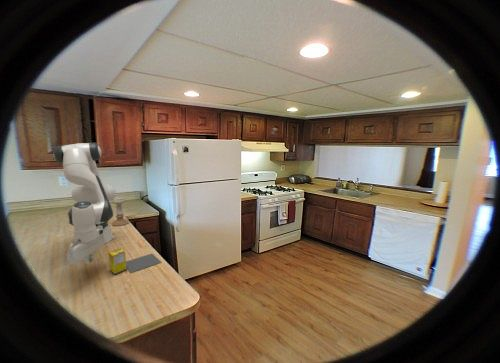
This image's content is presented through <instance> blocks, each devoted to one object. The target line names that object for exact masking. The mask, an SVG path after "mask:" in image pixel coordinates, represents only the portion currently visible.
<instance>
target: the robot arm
mask: <svg viewBox="0 0 500 363" xmlns="http://www.w3.org/2000/svg"><path fill="white" fill-rule="evenodd" d="M52 155H53V158H54V159H55V161H56V162H57V163H58V164H59V165H60V164H61V165H62V168H63V169H62V170H63V174H64V177H65V179H66V180H67V181H68V182H69V183H71V184H74V185H78V186H77V187H75V188H73V189H72V190H71V191H72V192H71V197H72V199H73V200H74V201H75V203H73V205H72V208H71V209H69V210H68V212H67V215H68V219H69V222H68V224H70V225H71V226H73V227H74V228H73V237H74V242H71V244H70V245H69V247H68V249H67V263H68V264H70V265H73V264H74V265H77V264H79V262H81V261H84V264H85V265H90V264H91V263H92V262H93V261H94V259H93V258H94V255H95V252H96V251H98V250H99V249H100V248H102V247H104V245H105V244H107V243H109V242H111V241H112V240H114V239H115V238H116V236H115V235H114V234H113V232H112V228H111V226H109V221H110V220H112V218H114V208H113V207H112V205H111V201H113V200H114V199H115V198H116V196H117V191H116V189H115V187H114V186H112V185H109V184H108V183H107V182H106V181H104V179H103V178H102V176H101V175H100V172H99V169H98V166H97V163H96V161H98V160H100V159H101V157H102V149H101V147H100V145H99V144H98V143H95V142H87V143H86V142H85V143H83V142H79V143H78V142H77V143H73V144H65V145H58V146H55V147H54V148H53V154H52Z"/></svg>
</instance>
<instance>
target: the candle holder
mask: <svg viewBox="0 0 500 363" xmlns="http://www.w3.org/2000/svg"><path fill="white" fill-rule="evenodd" d="M126 201H127V200H126V199H115V200H114V199H113V200H111V201H110V204H115V205H116V207H115V209H116V210H115V211H116V212H115V215H116V216H115V218H116V220H114V221H113V222H112V223H111V226H113V227H122V226H126V225H128V224H129V220H128V219H124V216H125V215H124V211H123V206H122V204H123V203H125V202H126Z"/></svg>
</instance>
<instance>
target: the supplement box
mask: <svg viewBox="0 0 500 363" xmlns="http://www.w3.org/2000/svg"><path fill="white" fill-rule="evenodd" d="M125 252H126V251H125V250H124V249H122V248H117V249H114V250H111V251H108V261H109V268H110V270H109V271H110V272H111V274H113V275H114V276H115V275H119V274H121V273H123V272H125V271H127V268H126V253H125Z"/></svg>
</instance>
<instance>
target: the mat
mask: <svg viewBox="0 0 500 363" xmlns="http://www.w3.org/2000/svg"><path fill="white" fill-rule="evenodd" d="M161 263H162V261H161V260H160V259H158V257H157V256H156V255H155V254H153V253H149V254H146V255H142V256H139V257H136V258H134V259H131V260H129V259H128V260H127V261H126V270H127V271H128V272H129V273H130V274H132V273H136V272H139V271H142V270H145V269H147V268H150V267H152V266H156V265H158V264H161Z"/></svg>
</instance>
